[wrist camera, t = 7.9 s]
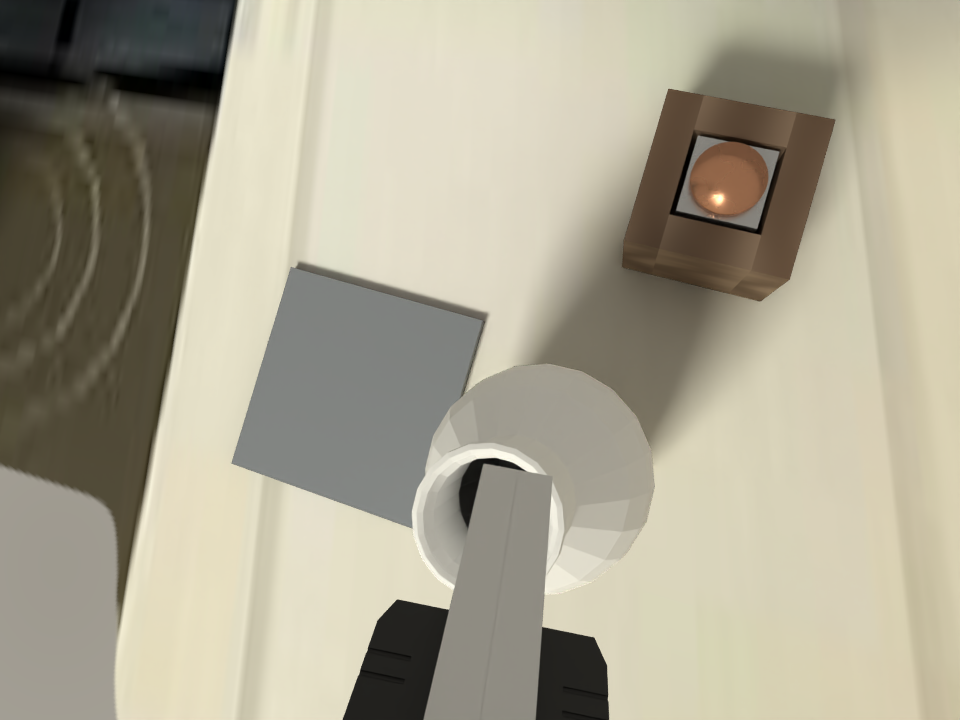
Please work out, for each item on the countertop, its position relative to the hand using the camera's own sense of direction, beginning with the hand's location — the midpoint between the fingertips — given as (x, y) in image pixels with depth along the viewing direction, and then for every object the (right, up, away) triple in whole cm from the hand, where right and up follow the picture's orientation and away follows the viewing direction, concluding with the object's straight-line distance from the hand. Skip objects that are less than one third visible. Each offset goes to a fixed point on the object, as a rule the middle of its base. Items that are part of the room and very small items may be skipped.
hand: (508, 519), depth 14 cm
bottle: (+5, -3, +29) cm, 30 cm away
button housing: (+14, +13, +28) cm, 34 cm away
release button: (+14, +13, +26) cm, 33 cm away
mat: (-9, +1, +32) cm, 34 cm away
